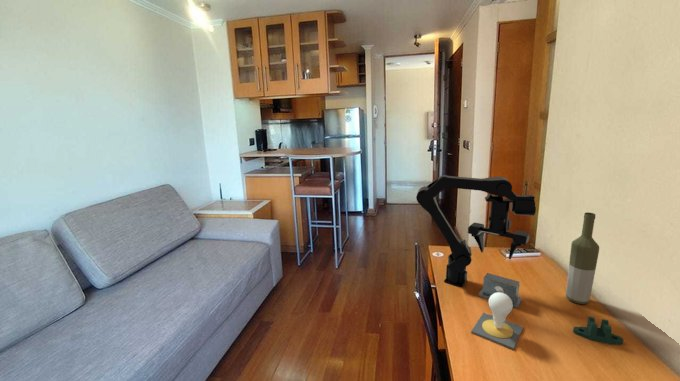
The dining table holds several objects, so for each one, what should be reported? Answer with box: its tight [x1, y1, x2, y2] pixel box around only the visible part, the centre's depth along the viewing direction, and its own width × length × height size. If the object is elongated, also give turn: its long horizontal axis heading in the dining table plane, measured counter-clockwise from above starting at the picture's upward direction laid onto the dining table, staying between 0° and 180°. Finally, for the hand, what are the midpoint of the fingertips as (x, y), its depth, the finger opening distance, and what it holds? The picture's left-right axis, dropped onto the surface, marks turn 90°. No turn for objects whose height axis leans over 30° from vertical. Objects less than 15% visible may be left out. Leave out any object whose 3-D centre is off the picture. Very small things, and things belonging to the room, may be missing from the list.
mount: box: [572, 316, 624, 346], centre depth 86 cm, size 11×4×5 cm, turn 62°
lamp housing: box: [478, 272, 523, 309], centre depth 105 cm, size 12×6×7 cm, turn 49°
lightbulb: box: [488, 292, 514, 329], centre depth 89 cm, size 6×6×11 cm
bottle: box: [565, 211, 600, 305], centre depth 100 cm, size 7×7×30 cm
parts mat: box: [470, 312, 524, 351], centre depth 90 cm, size 11×11×1 cm
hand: (495, 255), depth 111 cm, fingers open, 9 cm apart
